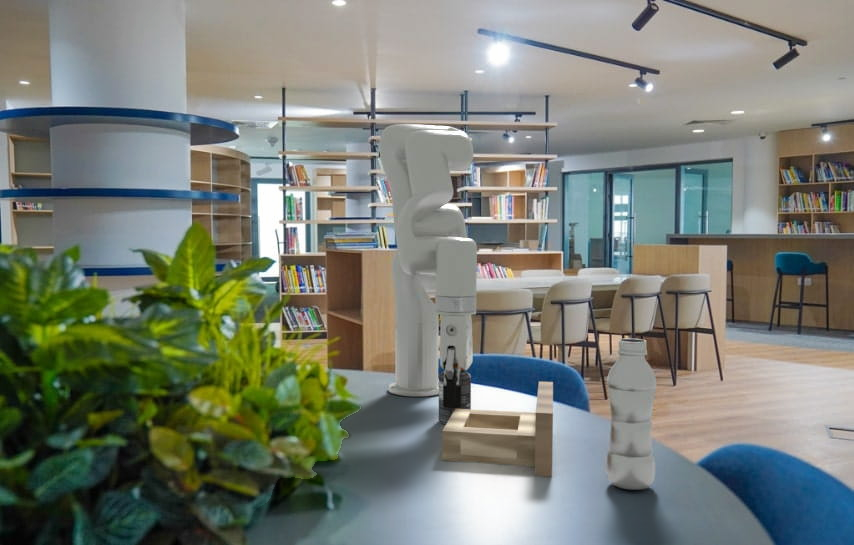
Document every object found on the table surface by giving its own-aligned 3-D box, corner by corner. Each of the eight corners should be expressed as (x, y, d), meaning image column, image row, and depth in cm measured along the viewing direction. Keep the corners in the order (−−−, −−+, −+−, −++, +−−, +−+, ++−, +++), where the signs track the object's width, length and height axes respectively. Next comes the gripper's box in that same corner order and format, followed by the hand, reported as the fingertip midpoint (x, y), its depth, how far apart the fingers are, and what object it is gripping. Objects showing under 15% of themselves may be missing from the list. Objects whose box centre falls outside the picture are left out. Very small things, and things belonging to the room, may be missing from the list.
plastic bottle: (663, 486, 92) (666, 340, 91) (641, 499, 87) (644, 345, 86) (619, 475, 97) (622, 335, 96) (596, 487, 92) (598, 340, 91)
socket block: (455, 434, 117) (455, 408, 116) (537, 439, 114) (538, 412, 114) (442, 460, 103) (442, 430, 103) (535, 466, 100) (535, 436, 100)
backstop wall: (538, 432, 118) (538, 381, 117) (552, 433, 117) (552, 382, 117) (534, 475, 96) (535, 412, 96) (552, 476, 96) (552, 413, 95)
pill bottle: (471, 417, 127) (471, 358, 127) (470, 426, 122) (470, 364, 121) (439, 416, 128) (440, 357, 127) (437, 425, 122) (437, 363, 122)
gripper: (470, 311, 115) (469, 416, 115) (481, 301, 131) (480, 393, 132) (426, 309, 116) (426, 413, 117) (442, 300, 133) (442, 391, 134)
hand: (454, 402), depth 125 cm, fingers closed on pill bottle, 6 cm apart
